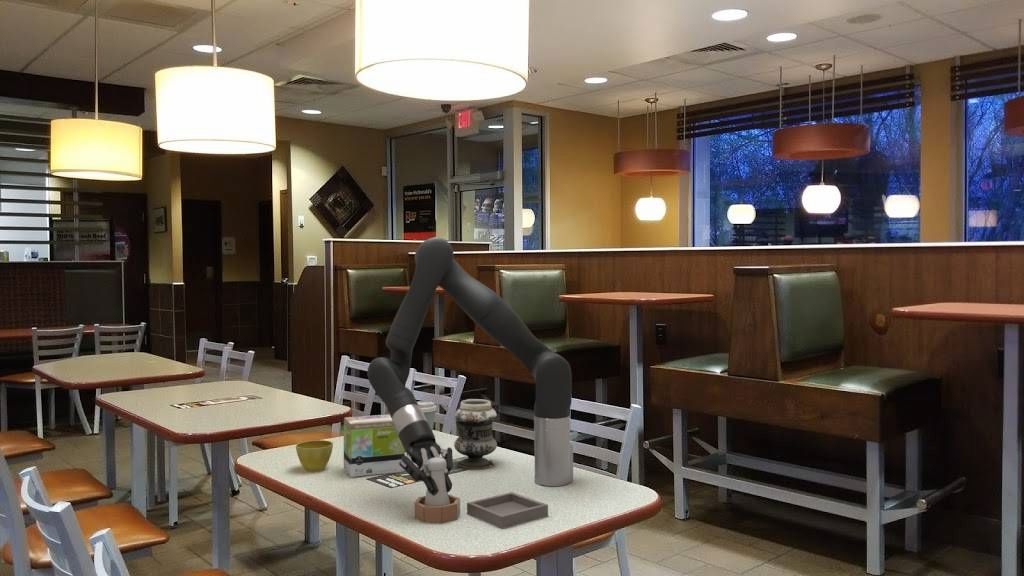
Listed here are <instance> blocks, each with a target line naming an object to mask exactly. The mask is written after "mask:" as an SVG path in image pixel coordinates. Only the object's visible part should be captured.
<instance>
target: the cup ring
mask: <svg viewBox="0 0 1024 576" xmlns="http://www.w3.org/2000/svg"><path fill="white" fill-rule="evenodd" d="M448 496H449V501H450V504H448V505H444V506H425V505H424V504H425V498H426V495H422V496H419V497H417V499H416V500H415V501H414V502H413V503H414V508H413V509H414V519H416V520H417V521H419V522H421V523H424V524H425V523H426V524H444V523H447V522H452V521H456V520H458V518H459V517H460V515H461V499H460V497H457V496H455V495H452V494H449V493H448Z"/></svg>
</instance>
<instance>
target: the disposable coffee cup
mask: <svg viewBox="0 0 1024 576" xmlns="http://www.w3.org/2000/svg"><path fill="white" fill-rule="evenodd" d="M417 403H418V405H419V407H420V409H421V410H422V412H423V413H424V415H425V417H426V419H427V421H428V423H429V426H430V428H431V430H432V432H434V423H435V417H436V412H437V405H436V403H435V402H431V401H417Z"/></svg>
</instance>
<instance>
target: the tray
mask: <svg viewBox="0 0 1024 576" xmlns="http://www.w3.org/2000/svg"><path fill="white" fill-rule="evenodd" d="M466 514H467V515H469V516H470V517H474V518H477V519H479V520H481V521H484V522H486V523H488V524H491V525H493V526H495V527H498V528H500V529H506V528H509V527H512V526H516V525H520V524H524V523H528V522H531V521H534V520H538V519H541V518H542V519H543V518H545V517H548V516H549V504H547V503H544V502H541V501H538V500H535V499H533V498H530V497H528V496H524V495H521V494H519V493H516V492H513V491H509V492H505V493H501V494H498V495H494V496H489V497H486V498H482V499H477V500H473V501H468V502H466Z"/></svg>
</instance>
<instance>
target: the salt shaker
mask: <svg viewBox="0 0 1024 576" xmlns="http://www.w3.org/2000/svg"><path fill="white" fill-rule="evenodd" d="M440 457H441V456H440ZM440 457H435V458H431V459H429V460H428V462H427V467H428V469H429V470H430V473H431V475H430V477H432V478H433V479H434V481H435V483H436V485H437V488H438V492H437V494H436V495H433V496H432V494H430V493H429V492H428V489H427V488H426V492H425V493H426V494H425V496H426V498H425V504H424V505H425V506H444V505H448V504H450V501H449V496H448V494H449V492H447V488H446V481H445V476H444V469H446V466H447V463H446V460H445V459H444V458H442V457H441V458H440Z"/></svg>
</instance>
